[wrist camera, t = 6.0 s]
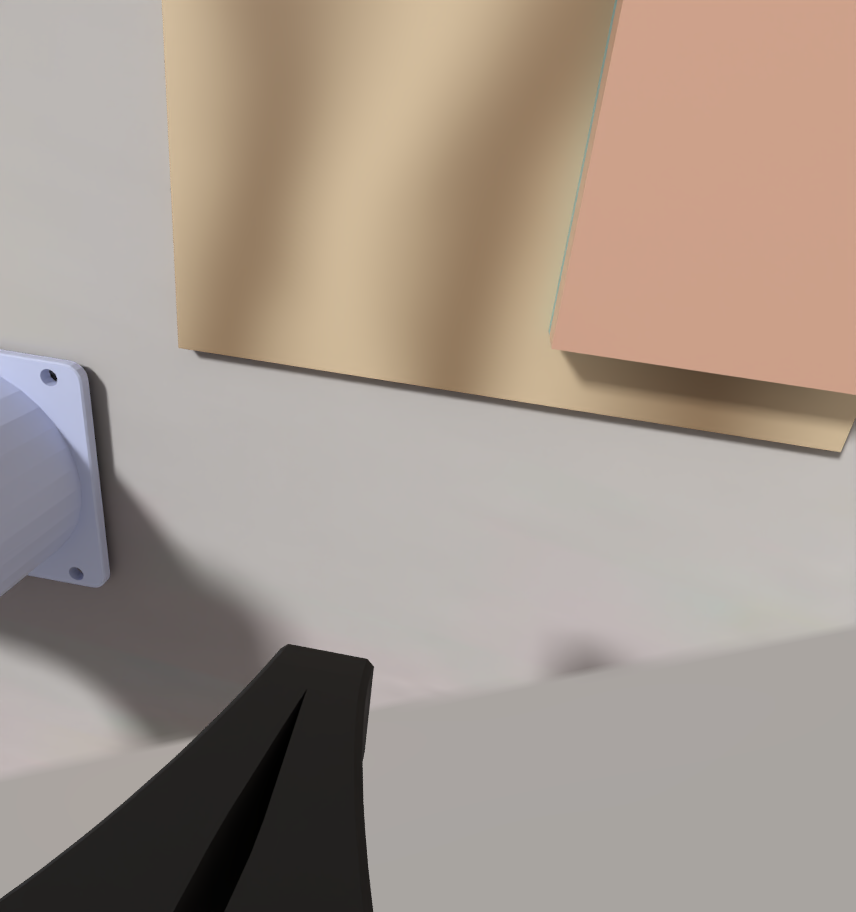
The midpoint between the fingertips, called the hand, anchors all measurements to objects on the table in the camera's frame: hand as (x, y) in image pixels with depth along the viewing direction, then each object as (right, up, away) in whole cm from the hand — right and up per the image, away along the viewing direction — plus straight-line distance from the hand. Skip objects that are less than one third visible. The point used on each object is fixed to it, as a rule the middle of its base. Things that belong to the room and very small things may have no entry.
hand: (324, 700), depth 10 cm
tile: (+5, +10, +4) cm, 12 cm away
